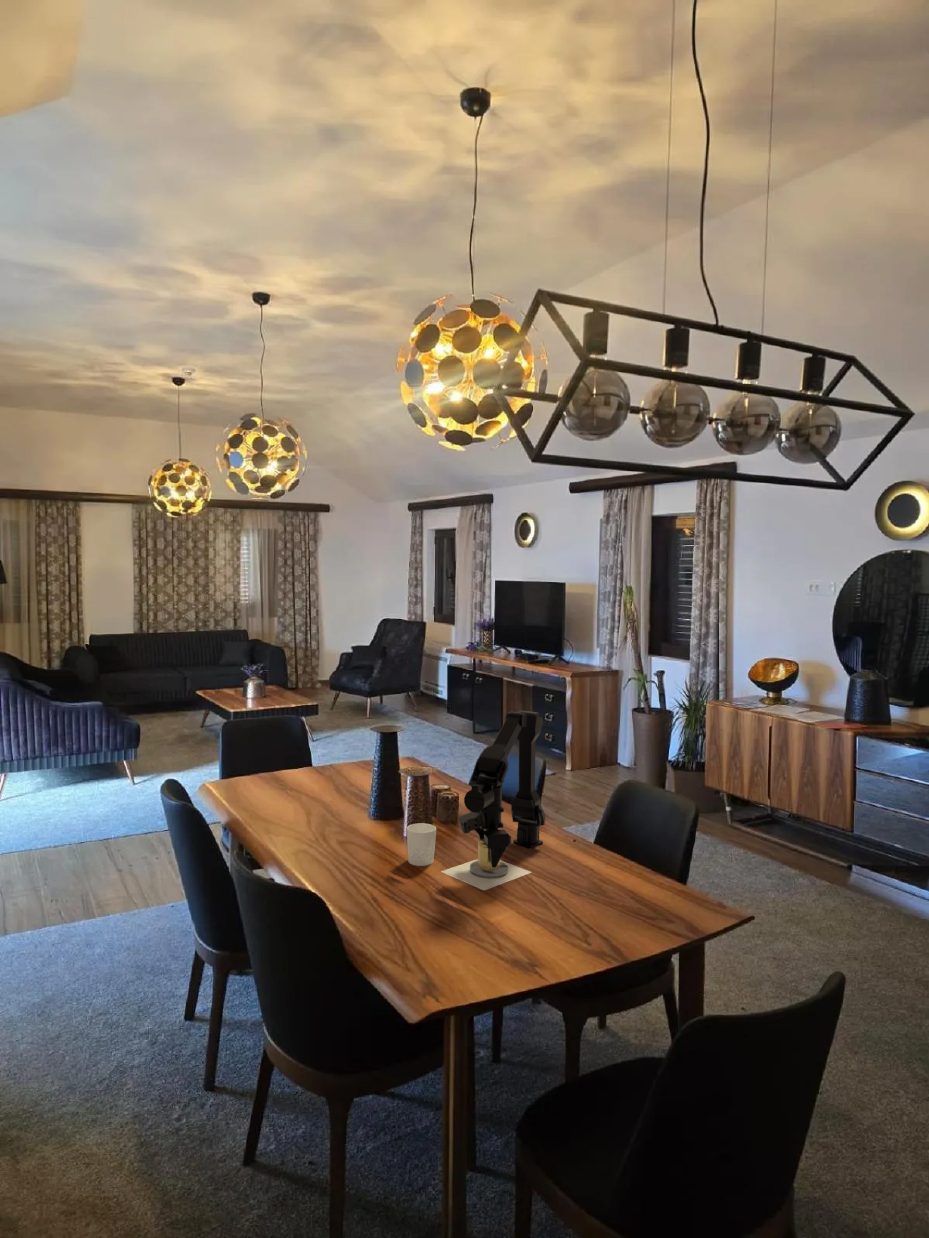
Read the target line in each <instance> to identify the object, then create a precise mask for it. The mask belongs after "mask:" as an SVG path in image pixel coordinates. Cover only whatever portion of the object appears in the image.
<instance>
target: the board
mask: <svg viewBox="0 0 929 1238" xmlns="http://www.w3.org/2000/svg"><path fill="white" fill-rule="evenodd" d="M475 861H478V858H477V859H474V860H471V861H468V862H465V863H462V864H459V865H457V866H453V867H450V868H447V869H444V870H441V871H440V873H442V874H445V875H447V876H450V877H452V878H454V879H455V880H456V879H457V880H458V881H461V882H464V883H466V884H468V885H470V886H472V887H475V888H477V889H478V890H482V891H487V890H490V889H492V888H495V887H497V886H500V885H502V884H505V883H507V882H510V881H514V880H516V879H518V878H521V877H524V876H526V875H529V874H532V871H530V870H527V869H524V868H522V867H520V866H519V867H518V866H516V865H515V864H511V863H509V862H506V861H503V860H501V859H500V862H503V863H505V864H506V865H507V866H508V873H507V875H505V876H503V877H500V878H481V877H477V876H475V875H473V874H472V873H471V872H470V865H471V863H473V862H475Z"/></svg>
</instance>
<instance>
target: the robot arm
mask: <svg viewBox="0 0 929 1238" xmlns="http://www.w3.org/2000/svg"><path fill="white" fill-rule="evenodd" d="M543 725H544V719H543V717H542V715H540V712H535V711H527V710H516V711H509V712H507V713H506V716H505V721H504V723H503V724H502V727H501V728H500V730H499V732H498V734H497V736H496V738H495V740H494V741H493V743H492V745H491V746H489V747H487V748H486V749H484V750H483V751H482V752H481V754H480V755H479V757H478V758H477V759H476V762H475V765H474V769H473V773H472V776H471V779H470V783H473V784H471V789H470V790H468V791H467V792H466V793H465V795H464V798H463V801H464V802H463V804H464V806H465V808H466V809H467V810H468V811H469V812H468V813H465V814H462V815H460V816H458V818H457V822H458V824H459V827H460V830H461V831H462V832H463V834H468V833H471V832H472V831H475V832H476V833H477V835H478V840H479V839H481V838H484V840H485V842H484V843H485V845H486V846H487V847H488V848H489V850H490V858H491V865H492V867H496V866H497V864H498V862H499V861H500V860H501V858H502V856H503V855H504V853H505V851H506V850H507V847H510V846H511V844H512V836H511V835H510V834H509V833H508V832H507V831H506V830H505V829H503V828H504V823H503V822H502V813H504V812H505V811H504V810H505V809H504V807H503V805H502V804H503V783H505V778H506V775H507V772H508V771H509V760H508V756H509V754H510V752H511V750H512V748H513V747H514V745H515V742H516V740H517V741H518V791H517V792H516V794H515V795H514V797H512V799H511V802H512V803H511V818H512V823H517V829H516V839H513V843H515V844H518V845H520V846H523V847H526V848H533V847H537V846H539V845H541V844H544V840H541V839H540V827H541V826H545V824H546V823H545V822H546V813H545V811H544V809H543V807H542V803H541V802H542V801H541V797H540V795H539V793H538V792H537V790H536V741H537V739H538V737H540V734H541V733H542V728H543Z"/></svg>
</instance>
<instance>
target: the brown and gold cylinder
mask: <svg viewBox="0 0 929 1238" xmlns="http://www.w3.org/2000/svg"><path fill="white" fill-rule="evenodd" d="M484 842H485V840H484V838H481V839H479V838H478V842H477V859H478V863H477V866H478V867H479V869H482V870H486V871H492V870H497V869H499V868H500V861H499V862H498V864H497V866H496V867H492V865H491V858H490V850H489V848H488V847H487V846H486V845H485V843H484Z"/></svg>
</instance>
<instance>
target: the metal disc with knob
mask: <svg viewBox="0 0 929 1238" xmlns="http://www.w3.org/2000/svg"><path fill="white" fill-rule="evenodd" d="M477 863H478V861H475V862H473V863H471V865H470V872H471V873H472V874H473V875H475V876H477V877H481V878H500V877H503V876H505V875H507V873H508V866H507V865H506V864H505V863H503V862H500V868H499V869H497V870H492V871H486V870H482V869H479V867H478V866H477Z"/></svg>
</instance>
